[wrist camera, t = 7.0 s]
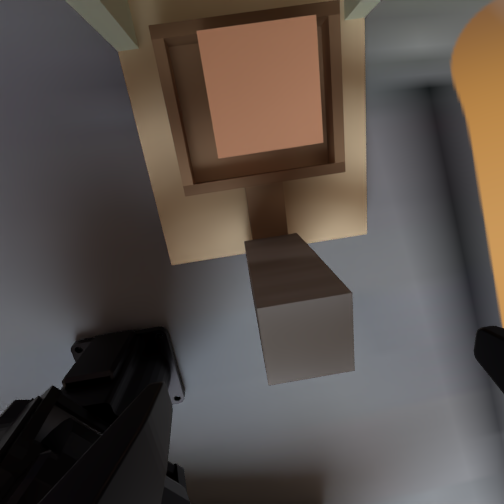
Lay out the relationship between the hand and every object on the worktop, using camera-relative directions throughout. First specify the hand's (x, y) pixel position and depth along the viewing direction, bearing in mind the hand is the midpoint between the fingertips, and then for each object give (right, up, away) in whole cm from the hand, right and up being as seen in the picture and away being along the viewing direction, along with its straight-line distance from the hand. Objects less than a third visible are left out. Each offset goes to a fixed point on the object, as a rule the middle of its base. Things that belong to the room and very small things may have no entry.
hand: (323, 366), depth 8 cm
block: (-2, +10, +6) cm, 12 cm away
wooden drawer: (-2, +8, +7) cm, 11 cm away
